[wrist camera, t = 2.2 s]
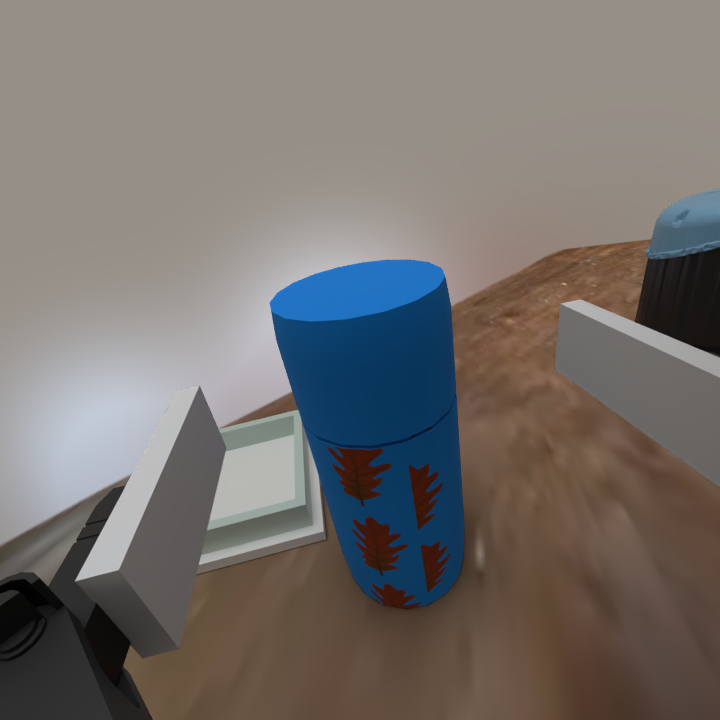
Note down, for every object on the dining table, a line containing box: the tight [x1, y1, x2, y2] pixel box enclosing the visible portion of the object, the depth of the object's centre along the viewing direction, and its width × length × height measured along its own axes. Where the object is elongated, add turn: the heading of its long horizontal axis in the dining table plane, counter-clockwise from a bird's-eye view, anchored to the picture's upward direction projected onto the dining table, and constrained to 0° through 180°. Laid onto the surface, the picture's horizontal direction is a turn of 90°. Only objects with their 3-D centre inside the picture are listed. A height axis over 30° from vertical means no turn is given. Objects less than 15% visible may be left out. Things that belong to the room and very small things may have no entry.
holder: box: [197, 410, 327, 574], centre depth 42 cm, size 18×18×4 cm
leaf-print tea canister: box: [270, 260, 464, 609], centre depth 28 cm, size 11×11×25 cm
